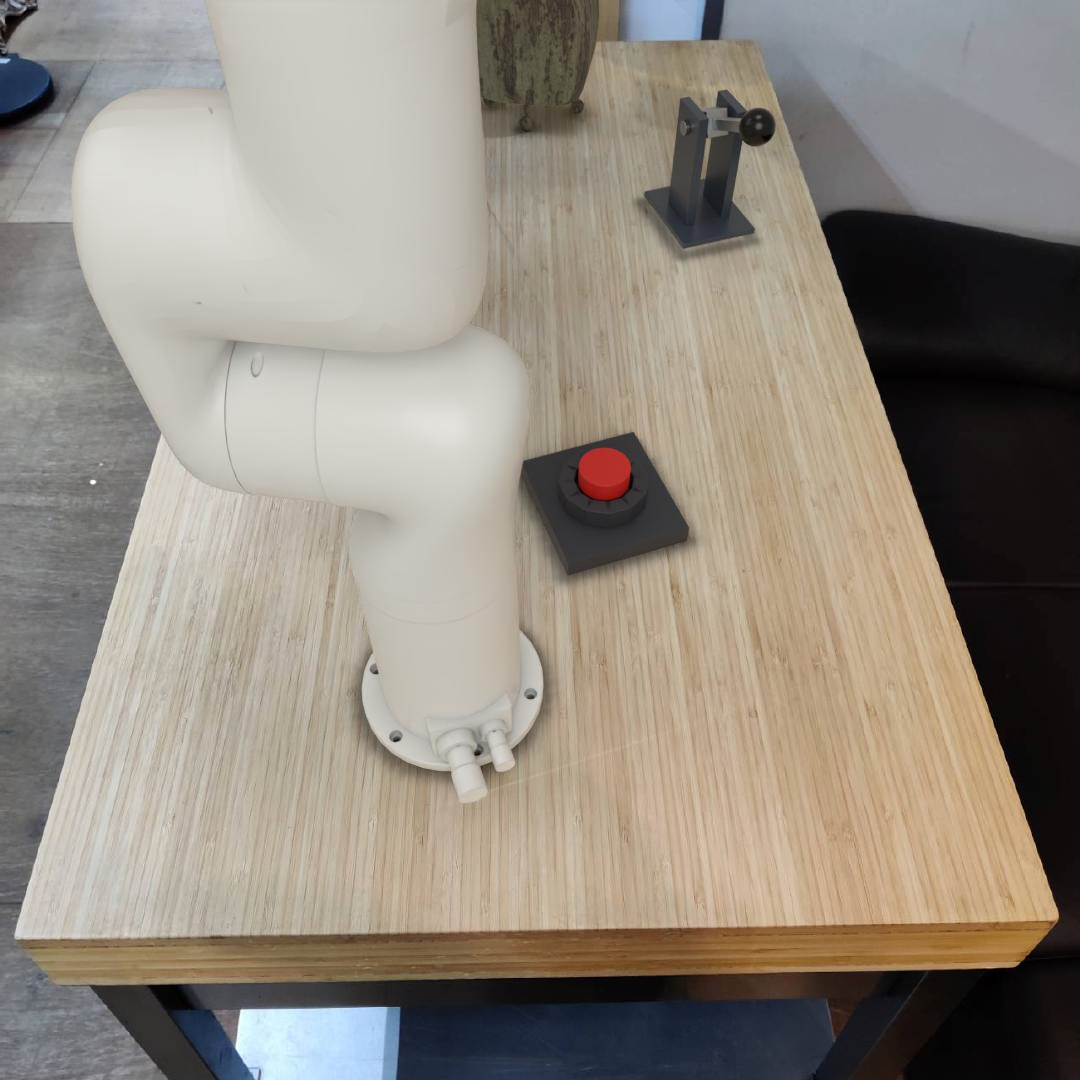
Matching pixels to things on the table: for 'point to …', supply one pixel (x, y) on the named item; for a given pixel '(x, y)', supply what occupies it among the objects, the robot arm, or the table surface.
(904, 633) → the table surface
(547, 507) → the button box
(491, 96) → the tabletop clock
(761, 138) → the switch lever
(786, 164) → the table surface
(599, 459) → the red button
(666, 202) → the switch bracket
